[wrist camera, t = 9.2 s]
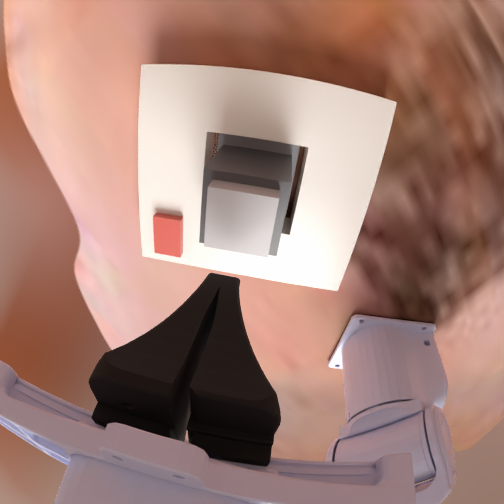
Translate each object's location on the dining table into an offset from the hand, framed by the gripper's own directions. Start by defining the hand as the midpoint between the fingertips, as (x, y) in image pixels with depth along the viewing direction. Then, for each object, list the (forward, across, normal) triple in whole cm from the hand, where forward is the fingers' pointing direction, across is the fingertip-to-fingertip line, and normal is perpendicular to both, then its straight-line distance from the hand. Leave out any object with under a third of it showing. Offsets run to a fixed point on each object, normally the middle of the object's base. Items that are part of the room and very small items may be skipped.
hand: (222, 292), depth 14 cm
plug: (+9, 0, -2) cm, 9 cm away
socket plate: (+10, 0, -2) cm, 10 cm away
